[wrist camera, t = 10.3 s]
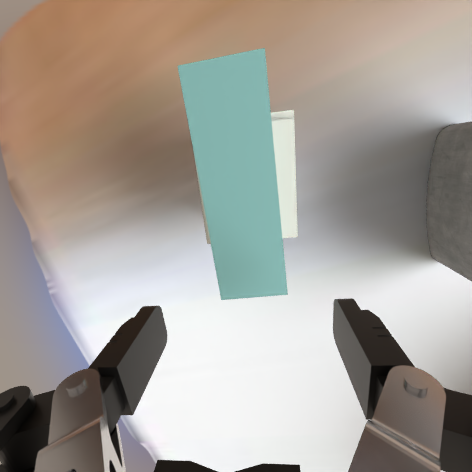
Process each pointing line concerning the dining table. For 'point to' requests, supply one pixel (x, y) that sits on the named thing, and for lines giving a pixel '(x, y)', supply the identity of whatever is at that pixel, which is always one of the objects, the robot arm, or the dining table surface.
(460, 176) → the hip flask
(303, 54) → the dining table surface
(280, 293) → the teal rectangular block
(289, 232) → the cream rectangular block
